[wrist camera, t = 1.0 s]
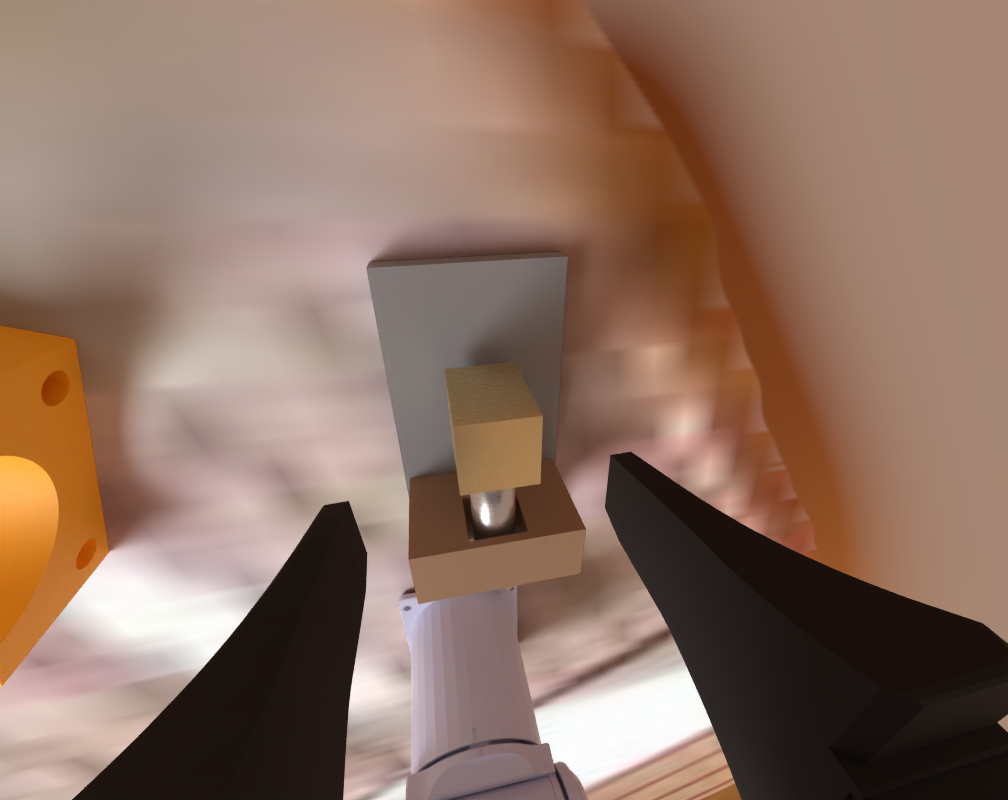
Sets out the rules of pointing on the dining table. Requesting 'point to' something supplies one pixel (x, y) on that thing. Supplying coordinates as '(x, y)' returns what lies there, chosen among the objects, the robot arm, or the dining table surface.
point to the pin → (493, 443)
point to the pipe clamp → (43, 489)
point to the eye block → (425, 415)
